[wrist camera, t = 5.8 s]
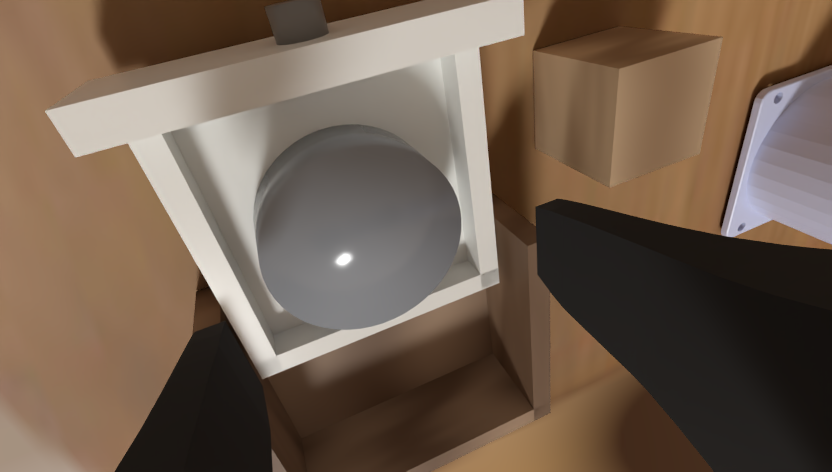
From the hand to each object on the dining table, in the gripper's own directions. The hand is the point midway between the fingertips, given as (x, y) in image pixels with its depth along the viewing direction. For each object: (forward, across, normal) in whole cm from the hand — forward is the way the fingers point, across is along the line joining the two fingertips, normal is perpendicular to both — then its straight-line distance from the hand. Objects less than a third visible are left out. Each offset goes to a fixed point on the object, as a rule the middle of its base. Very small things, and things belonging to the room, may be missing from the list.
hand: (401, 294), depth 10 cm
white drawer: (+5, 0, -1) cm, 5 cm away
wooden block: (+6, -9, -1) cm, 11 cm away
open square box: (+6, 0, +6) cm, 9 cm away
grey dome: (+4, 0, 0) cm, 4 cm away
